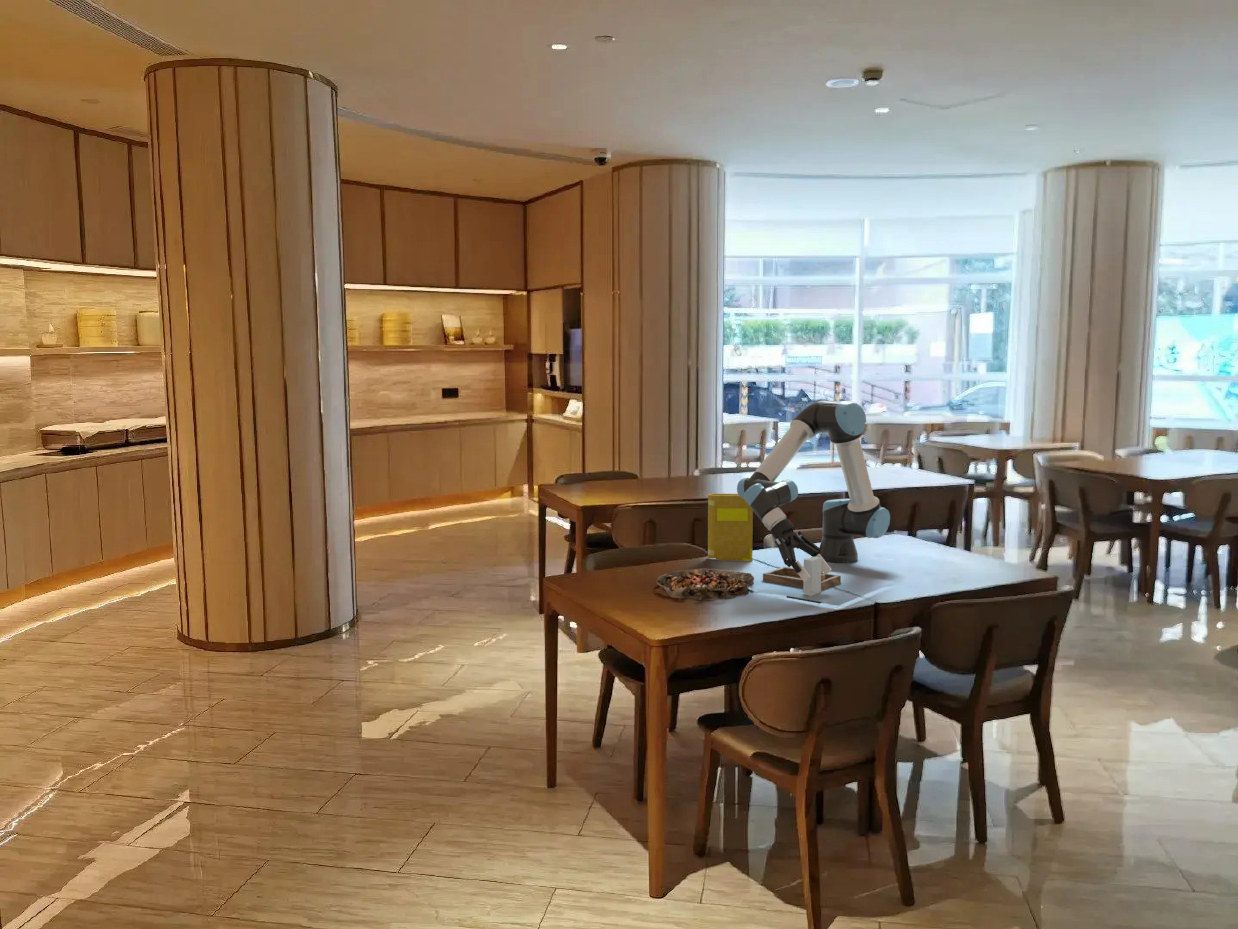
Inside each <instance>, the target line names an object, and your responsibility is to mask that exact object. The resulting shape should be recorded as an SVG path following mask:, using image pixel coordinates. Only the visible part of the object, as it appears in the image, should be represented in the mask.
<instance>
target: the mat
mask: <svg viewBox="0 0 1238 929" xmlns="http://www.w3.org/2000/svg"><path fill="white" fill-rule="evenodd" d="M786 598H787V599H792V600H798V601H803V602H809V603H815V604H822V603H823V602H822V601H816V600H813V599H812V600H811V599H807V598H801V597H795V596H790V595H786Z"/></svg>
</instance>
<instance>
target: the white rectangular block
mask: <svg viewBox="0 0 1238 929" xmlns="http://www.w3.org/2000/svg"><path fill="white" fill-rule="evenodd" d="M803 566H804V569H805V570H806V571H807V572H808V574H809V575H810V576H811V577H810V578H809V579H808V580H807V581H806V582H804V584H803V587H802V588H803V590H802V591H803V595H805V596H809V597H812V596H815V595H817V594H820V593H822V590H821V558H820V557H812V556H810V557H807V559H805V558H804V559H803Z"/></svg>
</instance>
